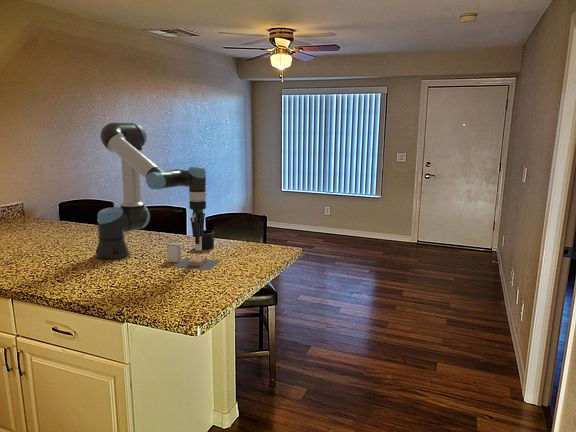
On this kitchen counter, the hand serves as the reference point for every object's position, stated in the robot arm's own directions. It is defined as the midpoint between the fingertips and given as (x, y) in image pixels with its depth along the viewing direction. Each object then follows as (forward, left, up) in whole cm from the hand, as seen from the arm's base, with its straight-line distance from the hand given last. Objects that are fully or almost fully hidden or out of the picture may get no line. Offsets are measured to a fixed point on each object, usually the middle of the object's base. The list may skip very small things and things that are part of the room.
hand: (198, 249), depth 211 cm
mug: (-6, +27, -7) cm, 28 cm away
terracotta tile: (0, +4, -5) cm, 6 cm away
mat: (0, -1, -7) cm, 7 cm away
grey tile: (-12, 0, -7) cm, 14 cm away
